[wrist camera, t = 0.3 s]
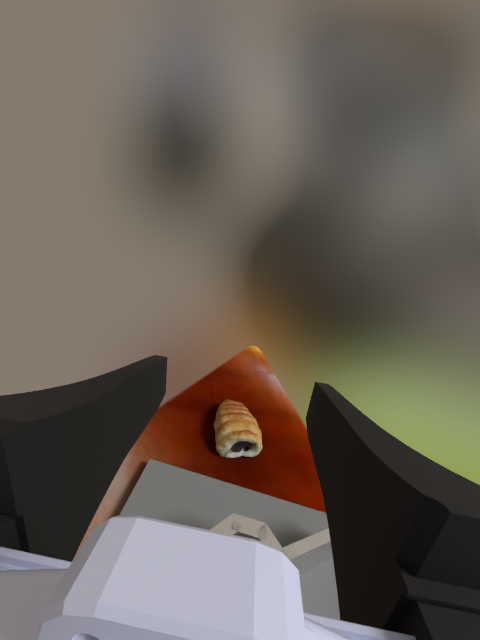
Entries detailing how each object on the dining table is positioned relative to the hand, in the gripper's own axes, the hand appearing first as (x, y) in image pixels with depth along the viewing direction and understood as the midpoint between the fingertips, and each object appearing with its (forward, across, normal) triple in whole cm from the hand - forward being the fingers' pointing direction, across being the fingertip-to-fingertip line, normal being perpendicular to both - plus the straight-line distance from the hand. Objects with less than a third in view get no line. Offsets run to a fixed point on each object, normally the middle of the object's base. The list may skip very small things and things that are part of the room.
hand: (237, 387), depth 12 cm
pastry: (+18, 0, +20) cm, 27 cm away
